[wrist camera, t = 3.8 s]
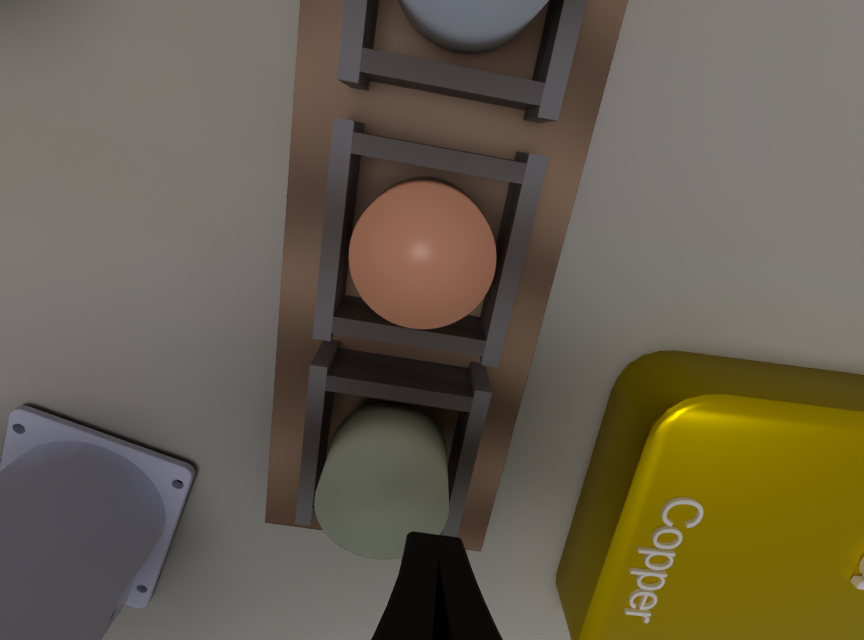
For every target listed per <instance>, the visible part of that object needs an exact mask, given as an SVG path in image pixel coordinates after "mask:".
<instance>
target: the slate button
mask: <svg viewBox="0 0 864 640" xmlns="http://www.w3.org/2000/svg"><path fill="white" fill-rule="evenodd" d="M398 1H399V3H400V6H401V8H402V10H403V12H404V13H405V15H406V17H407V18H408V20H409V21H410V23H411V24H412V25H413V27H414V28H415V29H416V30H417V31H418V32H419V33H420V34H421V35H422V36H423V37H425V38H426V39H427V40H428V41H430V42H431V43H433V44H435V45H436V46H438V47H440V48H443V49H445V50H448V51H451V52H455V53H461V54H478V53H484V52H488V51H491V50H494V49H497V48H499V47H501V46H503V45H505V44H507V43H508V42H510V41H511V40H513V39H514V38H515V37H516V36H518V35H519V34H520V33H521V32H522V31H523V30H524V29H525V28H526V27H527V26H528V24H529V23H530V22H531V21H532V20H533V19H534V17H535V16H536V15H537V14H538V13H539V11H540V10H541V9H542V8H543V7H544V6H545V4H546V3H547V2H548V1H549V0H398Z"/></svg>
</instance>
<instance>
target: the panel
mask: <svg viewBox="0 0 864 640" xmlns="http://www.w3.org/2000/svg"><path fill="white" fill-rule="evenodd" d="M627 2H628V0H549V1H548V2H547V3H546V4H545V6H544V7H543V8H542V9H541V10H540V11H539V13H538V14H537V15H536V16H535V17H534V19H533V20H532V21H531V22H530V23H529V24H528V26H527V27H526V28H525V29H524V30H523V31H522V32H521V33H520V34H519V35H518V36H516V37H515V38H514V39H513V40H511V41H510V42H508V43H507V44H505V45H503V46H501V47H499V48H497V49H494V50H491V51H488V52H484V53H478V54H461V53H455V52H451V51H448V50H445V49H443V48H440V47H438V46H436V45H435V44H433V43H431V42H430V41H428V40H427V39H426V38H425V37H423V36H422V35H421V34H420V33H419V32H418V31H417V30H416V29H415V28H414V27H413V25H412V24H411V23H410V21H409V20H408V18H407V17H406V15H405V13H404V12H403V10H402V8H401V6H400V3H399V1H398V0H300V13H299V28H298V43H297V57H296V72H295V87H294V102H293V117H292V132H291V146H290V161H289V176H288V191H287V206H286V221H285V236H284V250H283V265H282V280H281V295H280V310H279V325H278V340H277V354H276V369H275V384H274V399H273V414H272V429H271V444H270V458H269V473H268V488H267V503H266V518H265V523H272V524H279V525H287V526H294V527H302V528H309V529H317V530H323V529H322V528H321V526H320V524H319V522H318V520H317V517H316V513H315V507H314V498H315V493H316V489H317V486H318V483H319V480H320V477H321V474H322V471H323V468H324V465H325V462H326V459H327V456H328V453H329V450H330V447H331V444H332V441H333V438H334V435H335V432H336V430H337V429H338V427H339V425H340V424H341V423H342V421H343V420H344V419H345V418H346V417H347V416H348V415H350V414H351V413H352V412H354V411H356V410H357V409H359V408H361V407H364V406H366V405H370V404H374V403H380V402H395V403H401V404H406V405H409V406H412V407H414V408H416V409H418V410H420V411H422V412H423V413H425V414H426V415H428V416H429V417H430V418H431V419H432V420H433V421H434V422H435V423H436V424H437V426H438V427H439V428H440V430H441V432H442V434H443V436H444V439H445V442H446V449H447V470H448V491H449V514H448V519H447V522H446V525H445V527H444V529H443V530H442V532H441V533H440V535H444V536H451V537H459V538H460V539H461V540H462V541H463V544H464V547H465V549H466V550H474V551H481V549H482V545H483V541H484V537H485V534H486V530H487V526H488V523H489V519H490V515H491V511H492V508H493V504H494V500H495V496H496V493H497V489H498V485H499V481H500V478H501V474H502V470H503V466H504V463H505V459H506V455H507V451H508V448H509V444H510V440H511V436H512V433H513V429H514V425H515V421H516V418H517V414H518V410H519V406H520V403H521V399H522V395H523V392H524V388H525V384H526V380H527V377H528V373H529V369H530V365H531V362H532V358H533V354H534V350H535V347H536V343H537V339H538V335H539V332H540V328H541V324H542V320H543V317H544V313H545V309H546V305H547V302H548V298H549V294H550V290H551V287H552V283H553V279H554V275H555V272H556V268H557V264H558V261H559V257H560V253H561V249H562V246H563V242H564V238H565V234H566V231H567V227H568V223H569V219H570V216H571V212H572V208H573V204H574V201H575V197H576V193H577V189H578V186H579V182H580V178H581V174H582V171H583V167H584V163H585V159H586V156H587V152H588V148H589V144H590V141H591V137H592V133H593V130H594V126H595V122H596V118H597V115H598V111H599V107H600V103H601V100H602V96H603V92H604V88H605V85H606V81H607V77H608V73H609V70H610V66H611V62H612V58H613V55H614V51H615V47H616V43H617V40H618V36H619V32H620V28H621V25H622V21H623V17H624V14H625V10H626V6H627ZM414 177H434V178H439V179H443V180H445V181H448V182H450V183H452V184H454V185H456V186H457V187H459V188H460V189H462V190H463V191H464V192H465V193H466V194H467V195H468V196H469V197H470V198H471V199H472V200H473V202H474V203H475V204H476V206H477V207H478V209H479V210H480V212H481V213H482V215H483V216H484V218H485V219H486V221H487V223H488V225H489V227H490V229H491V231H492V234H493V237H494V241H495V246H496V268H495V274H494V277H493V281H492V283H491V286H490V288H489V290H488V292H487V293H486V295H485V297H484V298H483V300H482V301H481V302H480V303H479V305H478V306H477V307H476V308H475V309H474V310H473V311H471V312H470V313H469V314H468V315H466V316H465V317H463V318H462V319H460V320H458V321H456V322H454V323H452V324H449V325H447V326H443V327H439V328H433V329H412V328H407V327H403V326H400V325H397V324H394V323H392V322H390V321H388V320H386V319H384V318H383V317H381V316H380V315H378V314H377V313H376V312H375V311H373V310H372V309H371V308H370V307H369V306H368V305H367V304H366V302H365V301H364V300H363V298H362V297H361V296H360V294H359V292H358V291H357V289H356V287H355V285H354V282H353V279H352V276H351V272H350V267H349V246H350V241H351V237H352V234H353V231H354V228H355V226H356V224H357V222H358V220H359V219H360V217H361V216H362V214H363V213H364V212H365V211H366V209H367V208H368V207H369V206H370V205H371V204H372V203H373V202H374V201H375V200H376V199H377V197H378V196H379V195H380V194H381V193H382V192H384V191H385V190H386V189H387V188H389V187H390V186H392V185H393V184H395V183H398V182H400V181H402V180H405V179H409V178H414Z"/></svg>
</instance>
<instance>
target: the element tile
mask: <svg viewBox="0 0 864 640" xmlns="http://www.w3.org/2000/svg"><path fill="white" fill-rule="evenodd" d="M556 585H557V589H558V593H559V597H560V601H561V604H562V608H563V611H564V615H565V619H566V622H567V626H568V630H569V633H570V637H571V640H864V375H859V374H851V373H844V372H836V371H828V370H821V369H813V368H805V367H798V366H790V365H782V364H775V363H767V362H759V361H751V360H744V359H736V358H728V357H721V356H713V355H705V354H698V353H690V352H682V351H658V352H654V353H650V354H646V355H643V356H641V357H639V358H638V359H636V360H634V361H633V362H631V363H630V364H628V365H627V367H626V368H625V369H624V370H623V372H622V373H621V374H620V375H619V376H618V378H617V380H616V382H615V384H614V386H613V388H612V390H611V393H610V397H609V400H608V403H607V407H606V410H605V413H604V417H603V420H602V423H601V427H600V430H599V433H598V437H597V440H596V443H595V447H594V450H593V453H592V457H591V460H590V463H589V467H588V470H587V473H586V477H585V480H584V483H583V487H582V490H581V493H580V497H579V500H578V503H577V507H576V510H575V513H574V517H573V520H572V523H571V527H570V530H569V533H568V537H567V540H566V543H565V547H564V550H563V553H562V557H561V560H560V563H559V567H558V570H557V573H556Z"/></svg>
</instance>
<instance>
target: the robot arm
mask: <svg viewBox="0 0 864 640" xmlns="http://www.w3.org/2000/svg"><path fill="white" fill-rule="evenodd" d="M20 424H21V425H22V426H23V427H24V428H23V427H22V426H21V425H20ZM194 476H195V470H194V468H193V467H192V466H191V465H190V464H188V463H186V462H183V461H180V460H178V459H175V458H172V457H169V456H166V455H164V454H161V453H158V452H155V451H152V450H150V449H147V448H144V447H141V446H138V445H136V444H133V443H130V442H127V441H124V440H122V439H119V438H116V437H113V436H110V435H108V434H105V433H102V432H99V431H96V430H94V429H91V428H88V427H85V426H82V425H79V424H77V423H74V422H71V421H68V420H65V419H63V418H60V417H57V416H54V415H51V414H49V413H46V412H43V411H40V410H37V409H35V408H32V407H29V406H19V407H18V408H16V409H14V410H13V411H11V413H10V415H9V420H8V426H7V431H6V436H5V442H4V447H3V453H2V458H1V463H0V640H101V639H102V638H103V636H104V635H105V633H106V632H107V630H108V629H109V627H110V625H111V624H112V622H113V621H114V619H115V618H116V616H117V615H118V613H119V612H120V610H121V609H122V607H123V606H124V605H127V606H130V607H133V608H137V609H141V608H144V607H146V606H147V605H148V603H149V601H150V600H151V597H152V595H153V592H154V589H155V586H156V583H157V581H158V578H159V575H160V572H161V569H162V566H163V564H164V561H165V558H166V555H167V552H168V549H169V547H170V544H171V541H172V538H173V535H174V532H175V530H176V527H177V524H178V521H179V518H180V515H181V513H182V510H183V507H184V504H185V501H186V498H187V496H188V493H189V490H190V487H191V484H192V482H193V479H194ZM177 480H180V481H182V482H183V483H180V482H178V481H177ZM371 640H503V639H502V637H501V635H500V633H499V631H498V629H497V627H496V625H495V623H494V621H493V619H492V616H491V614H490V612H489V610H488V607H487V605H486V603H485V601H484V598H483V596H482V594H481V591H480V589H479V586H478V584H477V581H476V579H475V576H474V574H473V571H472V568H471V565H470V563H469V560H468V557H467V554H466V551H465V547H464V544H463V541H462V540H461V539H460V538H459V537H451V536H444V535H436V534H429V533H422V532H414V531H412V532H410V533H408V534H407V536H406V541H405V547H404V552H403V557H402V562H401V567H400V571H399V575H398V578H397V580H396V583H395V586H394V588H393V591H392V594H391V596H390V599H389V602H388V604H387V607H386V609H385V611H384V613H383V615H382V618H381V620H380V622H379V624H378V626H377V629H376V631H375V633H374V635H373V637H372V639H371Z"/></svg>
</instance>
